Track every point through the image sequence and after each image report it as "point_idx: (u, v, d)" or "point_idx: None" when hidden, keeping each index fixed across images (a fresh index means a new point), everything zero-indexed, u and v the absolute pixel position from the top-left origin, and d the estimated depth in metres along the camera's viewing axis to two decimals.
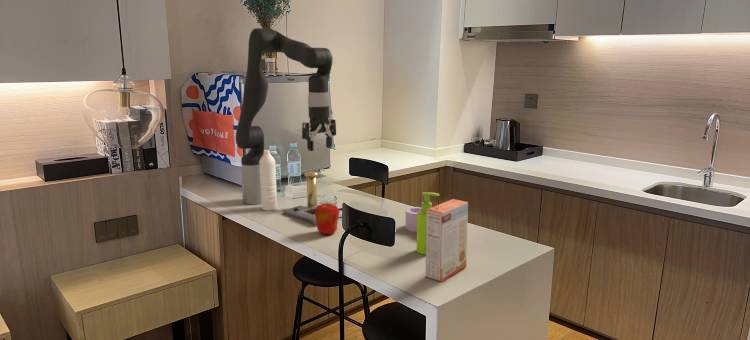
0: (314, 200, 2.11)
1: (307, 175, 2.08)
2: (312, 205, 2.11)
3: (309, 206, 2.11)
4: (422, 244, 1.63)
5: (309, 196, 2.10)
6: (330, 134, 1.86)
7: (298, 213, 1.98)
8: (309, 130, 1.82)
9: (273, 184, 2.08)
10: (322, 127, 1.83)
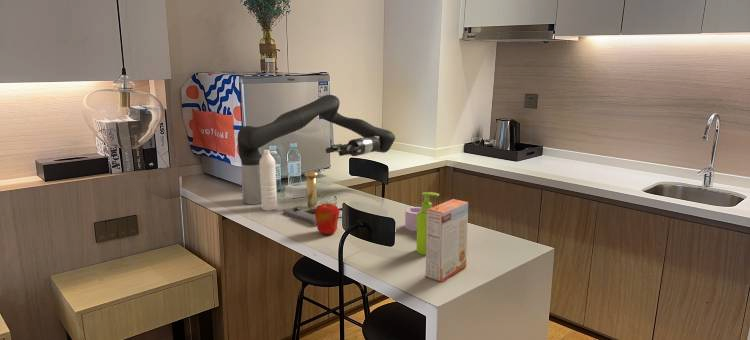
0: (314, 200, 2.11)
1: (307, 175, 2.08)
2: (312, 205, 2.11)
3: (309, 206, 2.11)
4: (422, 244, 1.63)
5: (309, 196, 2.10)
6: None
7: (298, 213, 1.98)
8: (350, 147, 2.18)
9: (273, 184, 2.08)
10: None
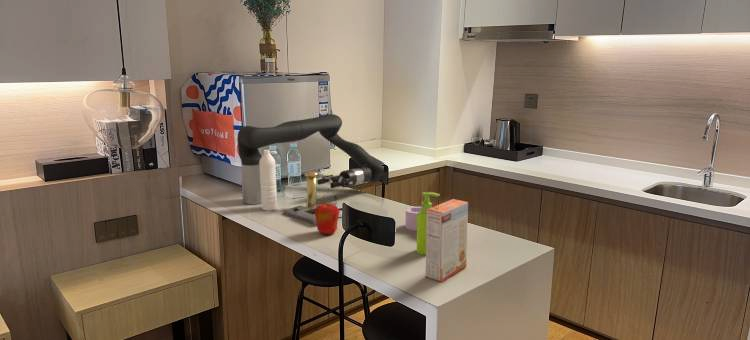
0: (314, 200, 2.11)
1: (307, 175, 2.08)
2: (312, 205, 2.11)
3: (309, 206, 2.11)
4: (422, 244, 1.63)
5: (309, 196, 2.10)
6: None
7: (298, 213, 1.98)
8: (342, 179, 2.19)
9: (273, 184, 2.08)
10: None
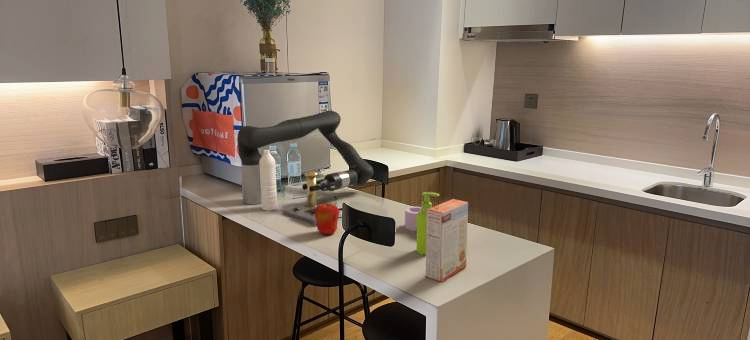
0: (314, 200, 2.11)
1: (307, 175, 2.08)
2: (312, 205, 2.11)
3: (309, 206, 2.11)
4: (422, 244, 1.63)
5: (309, 196, 2.10)
6: None
7: (298, 213, 1.98)
8: (323, 182, 2.12)
9: (273, 184, 2.08)
10: None
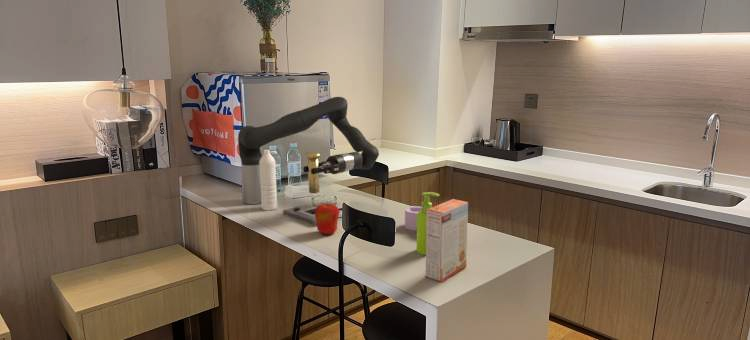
0: (316, 183, 1.95)
1: (308, 156, 1.91)
2: (314, 189, 1.95)
3: (311, 190, 1.95)
4: (422, 244, 1.63)
5: (311, 179, 1.94)
6: None
7: (298, 213, 1.98)
8: (326, 164, 1.96)
9: (273, 184, 2.08)
10: None
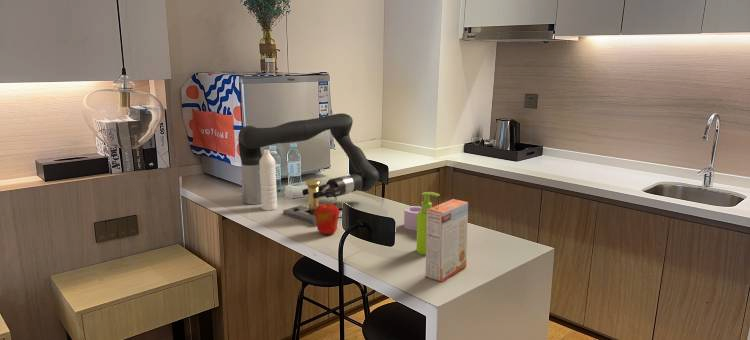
0: None
1: (309, 184, 1.93)
2: None
3: None
4: (422, 244, 1.63)
5: (311, 207, 1.96)
6: None
7: (298, 213, 1.98)
8: (327, 188, 1.97)
9: (273, 184, 2.08)
10: None
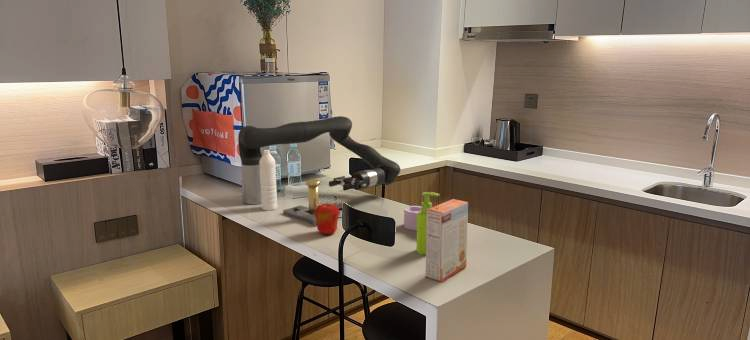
0: None
1: (309, 184, 1.93)
2: None
3: None
4: (422, 244, 1.63)
5: (311, 206, 1.96)
6: None
7: (298, 213, 1.98)
8: (354, 180, 2.07)
9: (273, 184, 2.08)
10: None
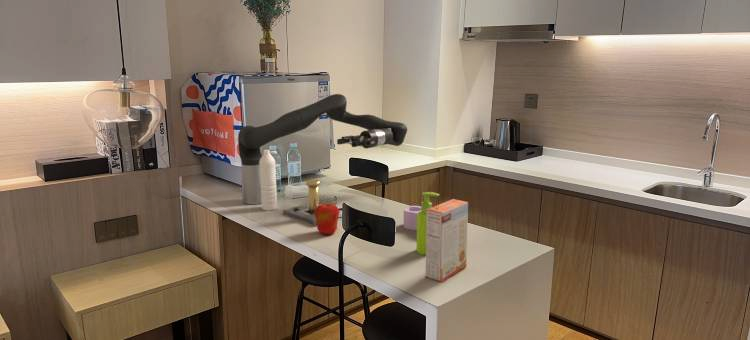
0: None
1: (309, 184, 1.93)
2: None
3: None
4: (422, 244, 1.63)
5: (311, 206, 1.96)
6: None
7: (298, 213, 1.98)
8: (363, 138, 2.07)
9: (273, 184, 2.08)
10: None
